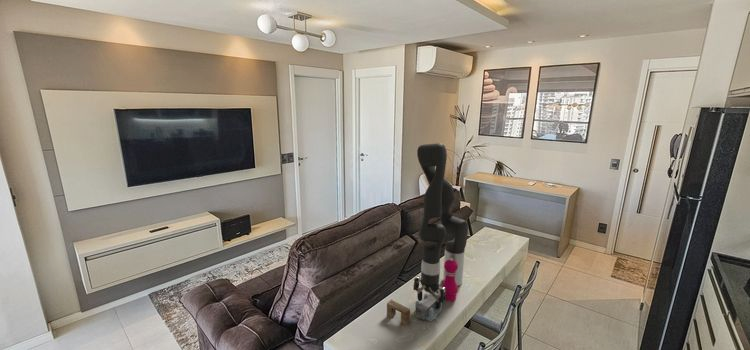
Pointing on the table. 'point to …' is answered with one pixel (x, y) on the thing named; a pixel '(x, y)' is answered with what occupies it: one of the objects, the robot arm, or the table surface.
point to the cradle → (432, 312)
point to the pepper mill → (450, 279)
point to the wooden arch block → (405, 311)
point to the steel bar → (426, 307)
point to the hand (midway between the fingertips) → (428, 304)
